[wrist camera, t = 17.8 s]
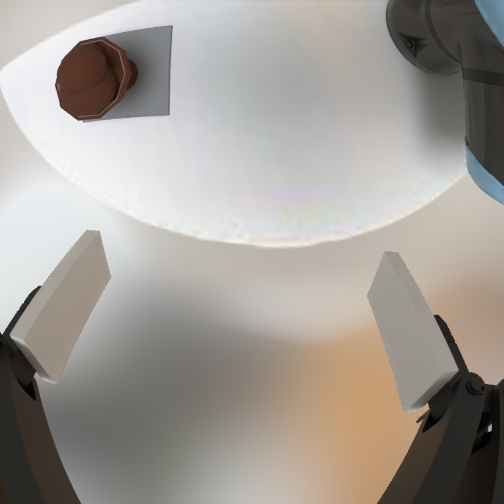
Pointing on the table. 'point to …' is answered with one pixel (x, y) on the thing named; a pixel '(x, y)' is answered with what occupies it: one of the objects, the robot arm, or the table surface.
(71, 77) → the ice cream bowl
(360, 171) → the table surface
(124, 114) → the slate mat
